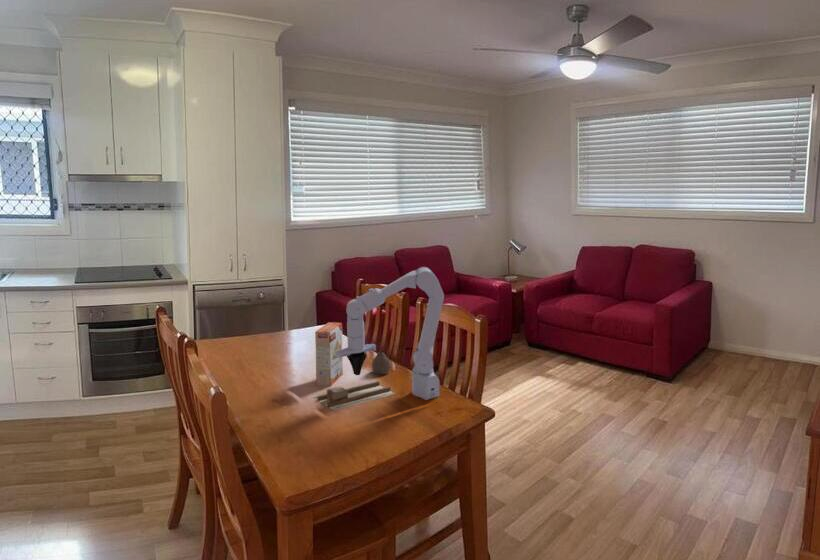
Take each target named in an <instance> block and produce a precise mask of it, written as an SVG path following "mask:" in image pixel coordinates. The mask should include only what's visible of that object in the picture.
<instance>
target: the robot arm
mask: <svg viewBox="0 0 820 560" xmlns="http://www.w3.org/2000/svg"><path fill="white" fill-rule="evenodd" d="M417 287H418V288H419V289H420V290H422V291H423V292H424V293H425V294H426V295H427V296H428V302H427V307H426V312H425V316H424V320H423V326H422V330H421V335H420V338H419V341H418V344H417V347H416V349H415V351H414V352H413V354H412V361H413V363H414V366H413V368H412V370H411V371H412V372H411V373H412V374H411V375H412V377H411V381H412V382H411V383H412V384H411V386H412V388H411V389H412V392H411V393H412V395H413V396H415V397H419V398H421V399H423V400H425V401H427V400H430V399H434V398H438V397H440V383H441V382H440V378H439V376H437V375H436V374H435V371H434V362H433V355H434V345H435V339H436V336H437V335H436V334H437V331H438V326H439V321H440V317H441V312H442V308H443V305H444V299H445V293H444V291H443V289H442V286H441V284H440V281H439V279H438V278H437V276H436V275H435V273H434V272H433V270H431V269H430V268H429V267H427V266H421V267H419V268H417V269H415V270H412V271H410V272H408V273H406V274H405V275H403V276H401V277H399V278H397V279H396V280H394V281H392V282H391V283H388V285H386V286H384V287H383V288H377V287H375V288H372V287H371V288H369V289H368V291H367V292H366V293H364V294H361V295H360V296H359V295H358V296H356V297H355V298H353V299H351V300H349V301H348V303H347V304H346V309H345V311H346V315H347V317H346V321H347V322H346V328H347V329H346V330H347V331H346V332H347V333H346V335H347V338H346V339H347V347H345V348H342V350H340V351H336V357H337V358H342V359H343V357H346V358H347V360H348V361H349V362H350V365H351V368H352V373H353V374H354V376H360V375H361V373H362V372H361V371H362V367H363V365H364V363H365V360H366V359H367V353H366V352H371V351H377V345H376V344H374V343H367V344H366V343H365V342H366V341H365V336H366V335H365V321H364V315H365V313H367V312H370V311H372V310H374V309H376V308H377V307H379V306H381V305H383V304H385V300H386V298H388V297H390V296H392V295H394V294H396V293H399V292H400V291H402V290H404V289H406V288H411V289H417Z"/></svg>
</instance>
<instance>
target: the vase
mask: <svg viewBox="0 0 820 560" xmlns="http://www.w3.org/2000/svg"><path fill="white" fill-rule="evenodd" d="M371 370H372V372H373V374H374V375H376V376H384V375H388V374H389V373H390V370H391V362H390V360H389V358H388V357H387V355H386V354H385V352H384V351H379V352H377V354H376V355H375V357H374V358H373V359H372V362H371Z"/></svg>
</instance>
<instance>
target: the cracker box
mask: <svg viewBox="0 0 820 560" xmlns="http://www.w3.org/2000/svg"><path fill="white" fill-rule="evenodd" d="M314 333H315V335H314V336H315V340H314V341H315V377H316V378H315V382H316V385H315V386H318V387H319V386H321V387H332V386H333V385H334V383H336V382H337V380H339V378H341V377H342V376H343V374H344V373H343V367H344V366H343V357H342V358H337V357H336V351H340V350H342V349H343V323H342V322H330V321H329V322H327V323H326V324H324V325H322V326H321V327H320V328H318V329H316V330H315V332H314Z"/></svg>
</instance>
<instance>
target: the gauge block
mask: <svg viewBox="0 0 820 560" xmlns="http://www.w3.org/2000/svg"><path fill="white" fill-rule="evenodd" d="M346 389H347V388H344V387H343V386H341V385H339V386H335V387H332V388H328V389H326V394H327V399H328V400H329V401H331V402H333V401H337V400H341V399H344V398H348V390H346Z"/></svg>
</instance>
